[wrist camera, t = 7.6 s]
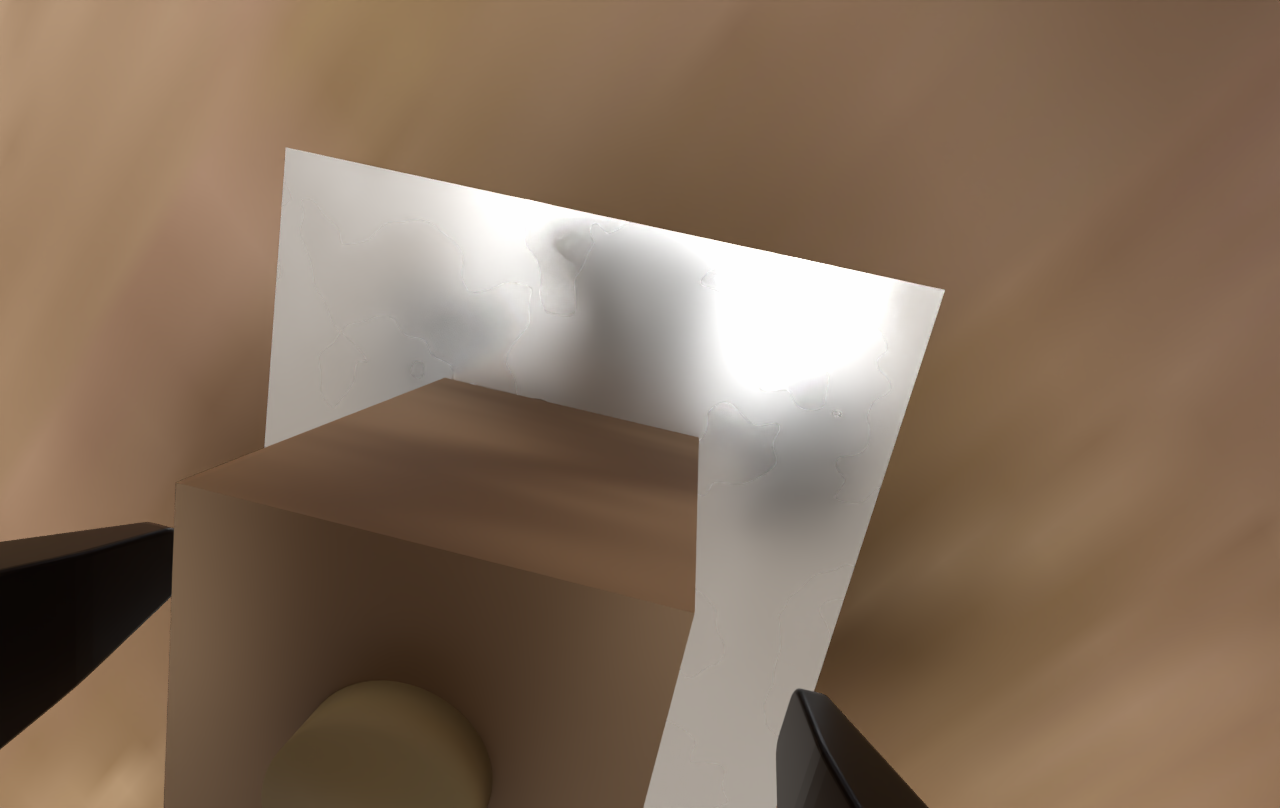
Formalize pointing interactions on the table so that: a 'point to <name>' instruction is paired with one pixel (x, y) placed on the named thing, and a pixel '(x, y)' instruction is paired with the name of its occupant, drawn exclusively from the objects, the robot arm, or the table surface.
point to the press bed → (628, 400)
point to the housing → (432, 609)
